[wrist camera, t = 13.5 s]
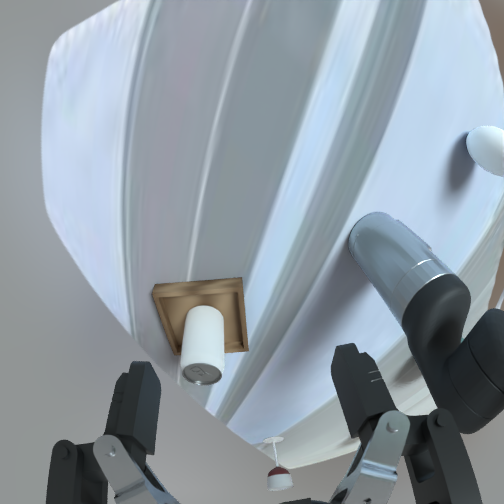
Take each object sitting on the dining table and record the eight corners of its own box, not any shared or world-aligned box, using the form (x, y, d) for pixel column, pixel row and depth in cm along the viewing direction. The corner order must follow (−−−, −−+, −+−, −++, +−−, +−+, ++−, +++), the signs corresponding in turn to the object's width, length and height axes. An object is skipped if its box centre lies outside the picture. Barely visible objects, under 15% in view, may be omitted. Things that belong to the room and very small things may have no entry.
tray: (241, 277, 43) (242, 286, 40) (247, 341, 50) (248, 351, 48) (155, 284, 42) (152, 293, 40) (175, 345, 49) (174, 355, 47)
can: (204, 335, 48) (202, 391, 37) (178, 315, 45) (169, 372, 34) (231, 319, 46) (234, 376, 36) (205, 297, 43) (202, 355, 33)
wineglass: (271, 435, 77) (279, 486, 59) (289, 437, 80) (298, 485, 62) (256, 442, 79) (262, 490, 62) (275, 444, 82) (282, 490, 65)
